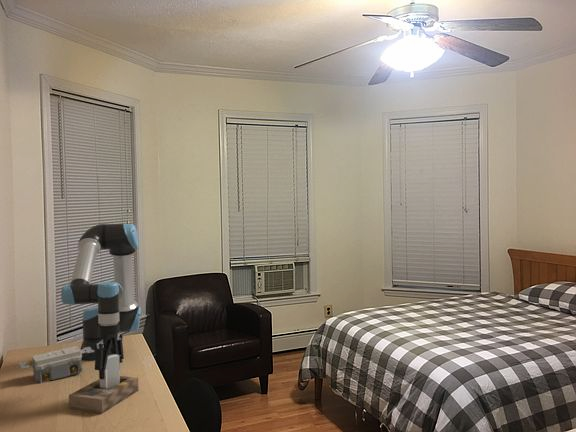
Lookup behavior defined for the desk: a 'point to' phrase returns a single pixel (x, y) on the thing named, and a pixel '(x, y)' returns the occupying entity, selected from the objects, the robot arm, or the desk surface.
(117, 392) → the socket panel
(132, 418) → the desk surface
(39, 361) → the electrical outlet
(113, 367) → the skincare box
